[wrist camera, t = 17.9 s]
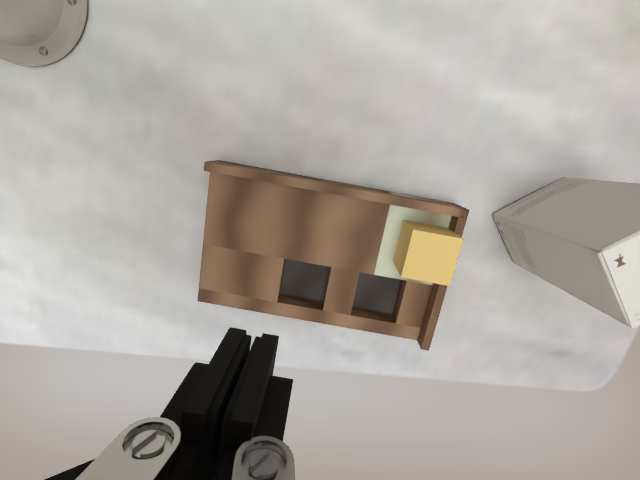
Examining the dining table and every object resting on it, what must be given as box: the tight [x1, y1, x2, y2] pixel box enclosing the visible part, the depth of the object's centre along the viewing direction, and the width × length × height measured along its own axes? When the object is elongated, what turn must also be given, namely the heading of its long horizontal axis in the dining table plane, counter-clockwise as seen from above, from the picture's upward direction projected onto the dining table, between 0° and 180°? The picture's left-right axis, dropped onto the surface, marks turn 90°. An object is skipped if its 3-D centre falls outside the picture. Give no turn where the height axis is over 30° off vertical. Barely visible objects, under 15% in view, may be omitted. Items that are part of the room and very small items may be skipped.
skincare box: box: [493, 178, 640, 328], centre depth 30 cm, size 8×7×16 cm
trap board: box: [198, 160, 469, 350], centre depth 37 cm, size 25×15×4 cm, turn 80°
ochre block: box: [393, 220, 463, 286], centre depth 34 cm, size 4×4×4 cm
